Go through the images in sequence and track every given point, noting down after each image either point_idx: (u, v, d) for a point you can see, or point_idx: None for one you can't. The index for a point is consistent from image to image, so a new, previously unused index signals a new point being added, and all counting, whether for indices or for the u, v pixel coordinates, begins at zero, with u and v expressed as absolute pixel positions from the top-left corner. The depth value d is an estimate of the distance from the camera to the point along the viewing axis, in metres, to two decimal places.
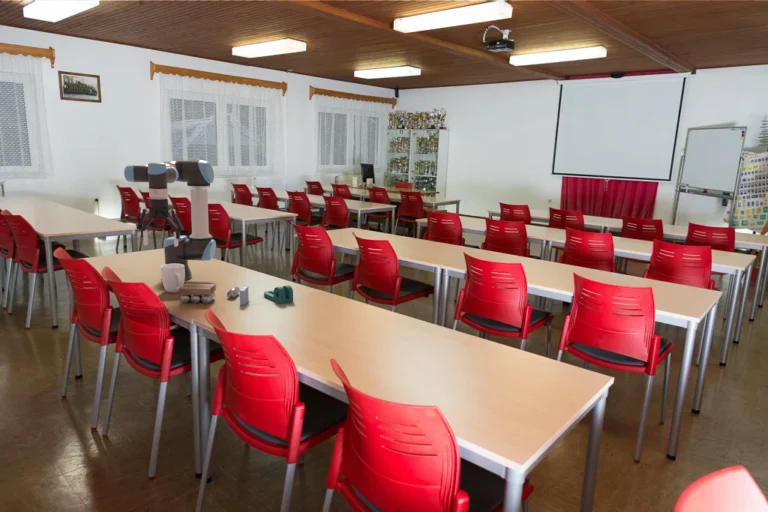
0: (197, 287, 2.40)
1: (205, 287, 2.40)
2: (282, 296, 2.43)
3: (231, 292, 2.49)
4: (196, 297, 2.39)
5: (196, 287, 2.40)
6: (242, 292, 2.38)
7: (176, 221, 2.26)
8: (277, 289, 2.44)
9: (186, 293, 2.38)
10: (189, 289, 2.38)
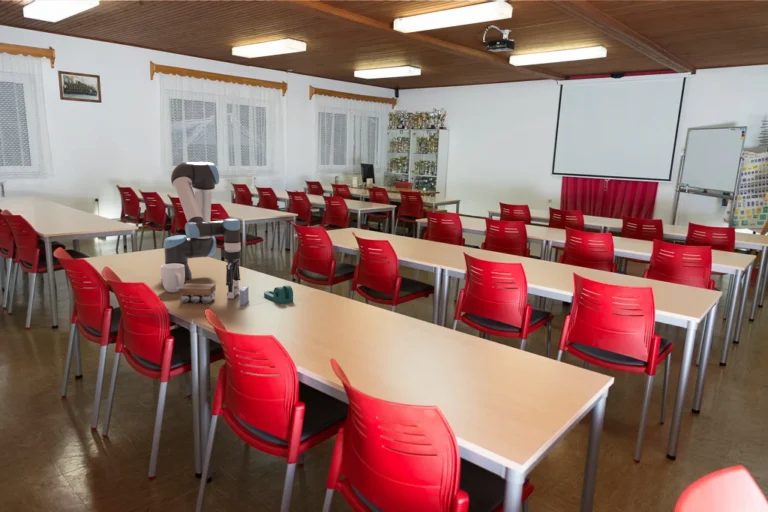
0: (197, 287, 2.40)
1: (205, 287, 2.40)
2: (282, 296, 2.42)
3: None
4: (196, 297, 2.39)
5: (196, 287, 2.40)
6: (242, 292, 2.38)
7: None
8: (277, 289, 2.44)
9: (186, 293, 2.38)
10: (189, 289, 2.38)
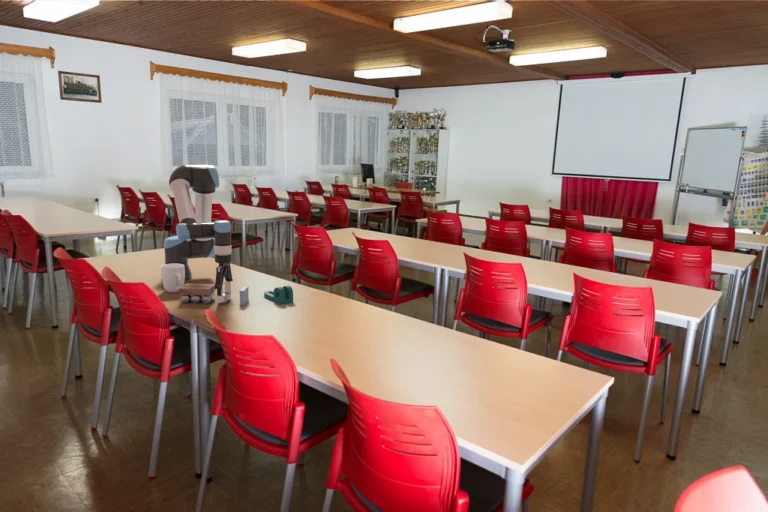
0: (197, 287, 2.40)
1: (205, 287, 2.40)
2: (282, 296, 2.42)
3: None
4: (196, 297, 2.39)
5: (196, 287, 2.40)
6: (242, 292, 2.38)
7: None
8: (277, 289, 2.43)
9: (186, 293, 2.38)
10: (189, 289, 2.38)
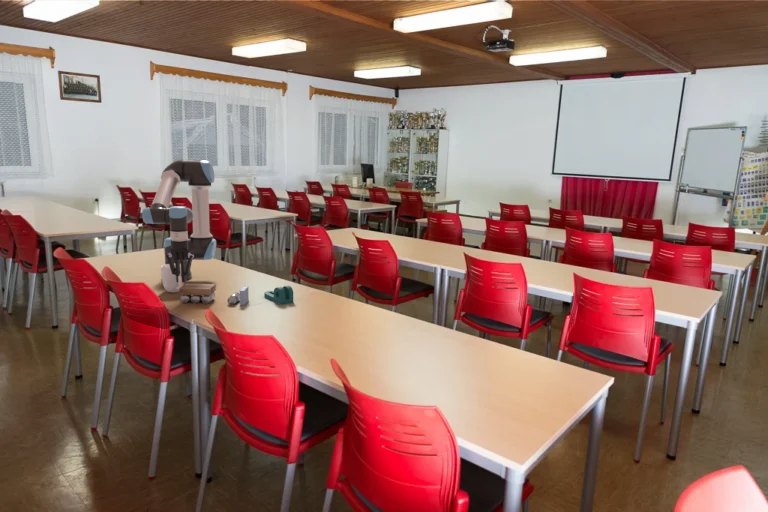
0: (197, 287, 2.40)
1: (205, 287, 2.40)
2: (282, 296, 2.42)
3: (233, 303, 2.39)
4: (196, 297, 2.39)
5: (196, 287, 2.40)
6: (242, 292, 2.38)
7: (188, 265, 2.38)
8: (277, 289, 2.43)
9: (186, 293, 2.38)
10: (189, 289, 2.38)
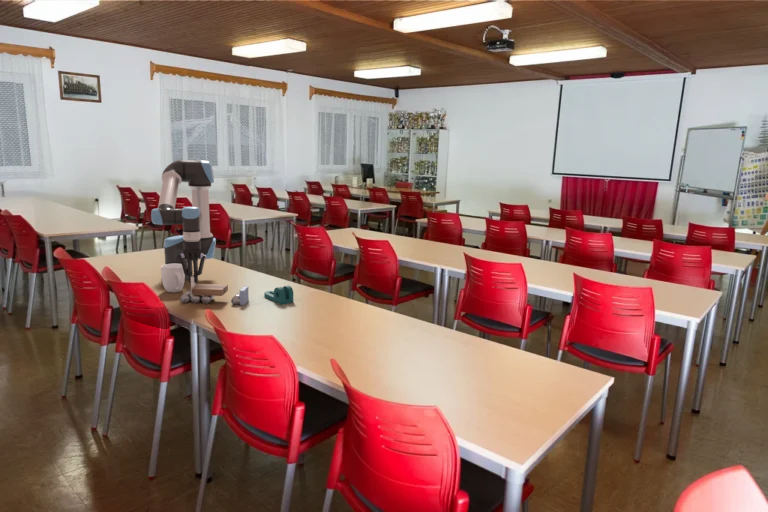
0: (210, 287, 2.40)
1: (218, 287, 2.40)
2: (282, 296, 2.42)
3: (234, 303, 2.39)
4: (196, 297, 2.39)
5: (209, 287, 2.40)
6: (242, 292, 2.38)
7: (200, 266, 2.39)
8: (277, 289, 2.43)
9: (199, 293, 2.38)
10: (202, 289, 2.38)
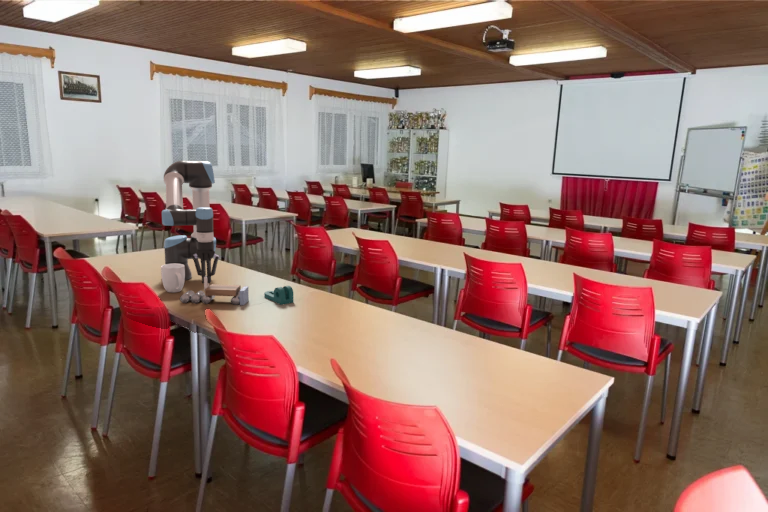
0: (223, 288, 2.40)
1: (231, 288, 2.40)
2: (282, 296, 2.42)
3: (234, 303, 2.39)
4: (196, 297, 2.39)
5: (222, 288, 2.40)
6: (242, 292, 2.38)
7: (213, 266, 2.39)
8: (277, 289, 2.43)
9: (212, 294, 2.38)
10: (215, 290, 2.38)
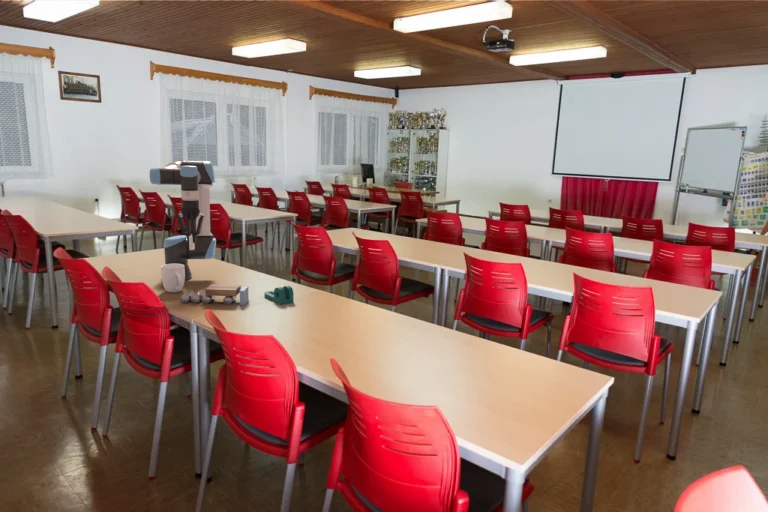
0: (223, 288, 2.40)
1: (231, 288, 2.40)
2: (282, 296, 2.42)
3: (229, 301, 2.39)
4: (196, 297, 2.39)
5: (222, 288, 2.40)
6: (242, 292, 2.38)
7: (198, 225, 2.38)
8: (277, 289, 2.43)
9: (212, 294, 2.38)
10: (215, 290, 2.38)
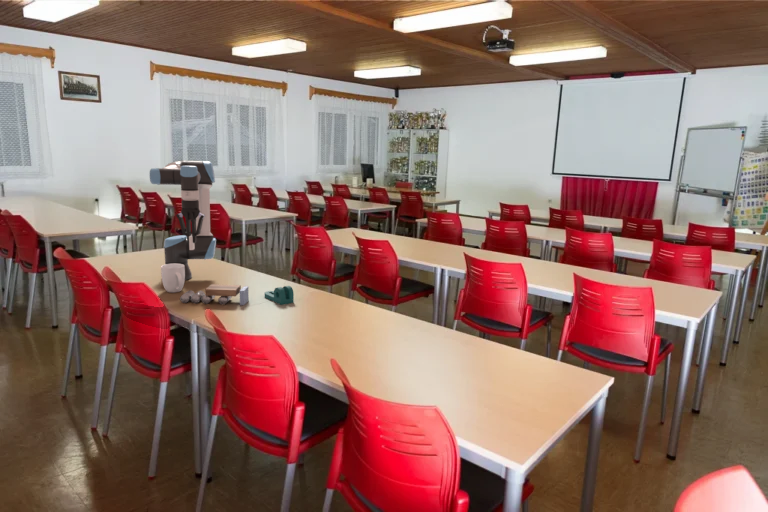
0: (223, 288, 2.40)
1: (231, 288, 2.40)
2: (282, 296, 2.42)
3: (223, 298, 2.39)
4: (196, 297, 2.39)
5: (222, 288, 2.40)
6: (242, 292, 2.38)
7: (198, 225, 2.38)
8: (277, 289, 2.43)
9: (212, 294, 2.38)
10: (215, 290, 2.38)
